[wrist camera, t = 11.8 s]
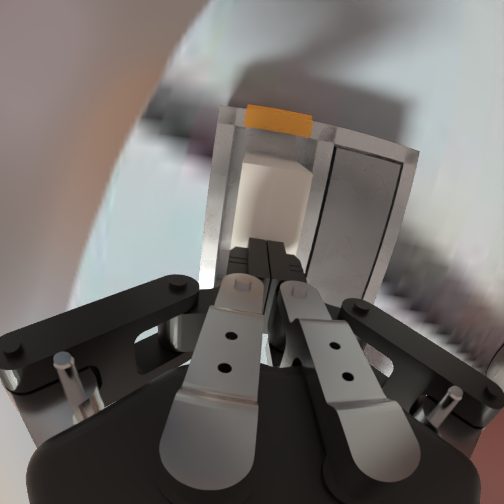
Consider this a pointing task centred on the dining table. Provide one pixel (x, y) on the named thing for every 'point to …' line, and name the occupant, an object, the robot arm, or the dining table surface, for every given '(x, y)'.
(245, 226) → the panel
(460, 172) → the dining table surface
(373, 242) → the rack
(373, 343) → the robot arm
